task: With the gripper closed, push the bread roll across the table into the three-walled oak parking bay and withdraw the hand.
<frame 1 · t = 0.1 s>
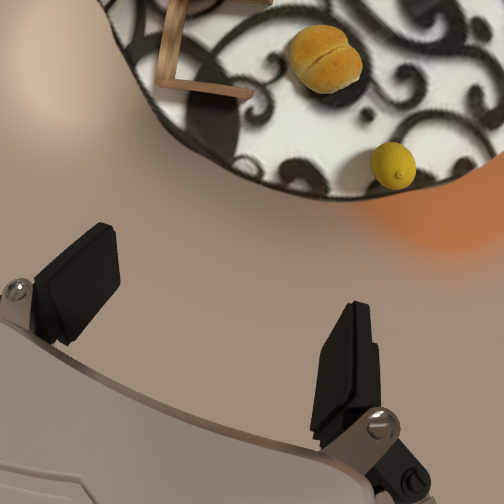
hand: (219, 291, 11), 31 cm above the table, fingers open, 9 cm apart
lemon: (387, 156, 35), on the table
bay: (218, 40, 31), on the table
bread roll: (325, 60, 30), on the table
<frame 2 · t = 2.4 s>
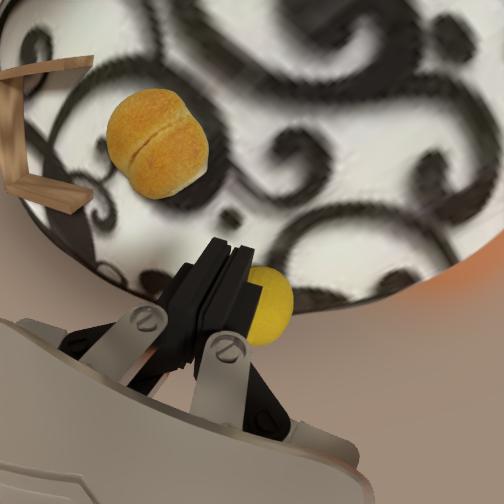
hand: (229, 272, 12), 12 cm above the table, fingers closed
lemon: (268, 272, 27), on the table
bay: (51, 126, 23), on the table
bread roll: (164, 141, 23), on the table
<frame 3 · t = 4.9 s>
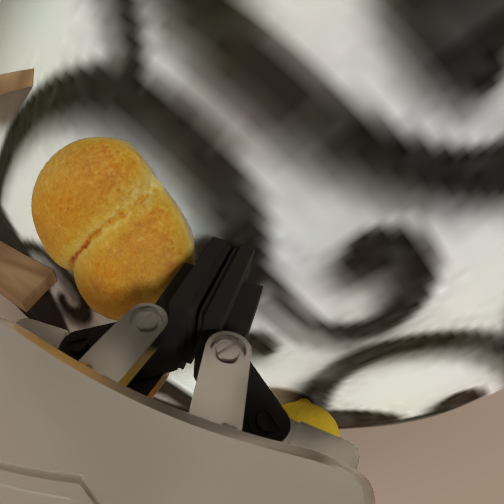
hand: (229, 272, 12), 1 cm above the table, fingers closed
lemon: (304, 396, 18), on the table
bread roll: (125, 220, 14), on the table, touching gripper
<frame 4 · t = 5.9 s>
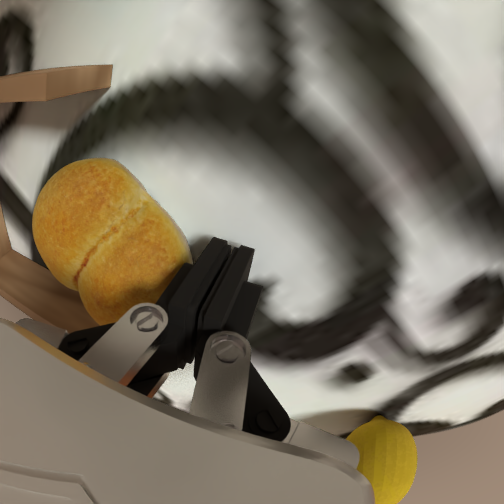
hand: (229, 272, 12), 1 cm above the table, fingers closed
lemon: (378, 413, 18), on the table
bay: (36, 191, 14), on the table
bread roll: (125, 237, 14), on the table, touching gripper
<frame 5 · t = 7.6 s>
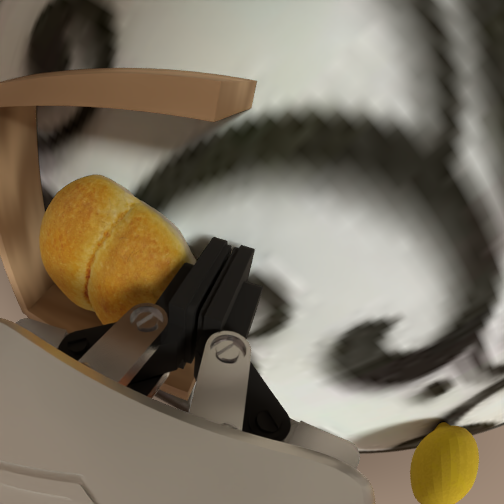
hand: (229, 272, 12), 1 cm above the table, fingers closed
lemon: (441, 420, 17), on the table
bay: (110, 219, 13), on the table
bread roll: (130, 249, 15), on the table, touching gripper
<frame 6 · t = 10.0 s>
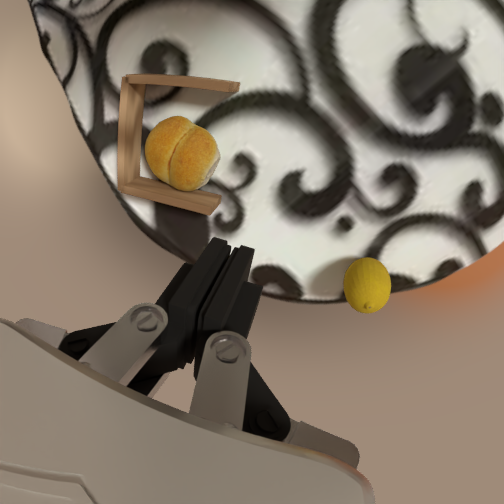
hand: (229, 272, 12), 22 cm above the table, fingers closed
lemon: (364, 263, 35), on the table
bay: (180, 136, 32), on the table
bread roll: (187, 151, 33), on the table
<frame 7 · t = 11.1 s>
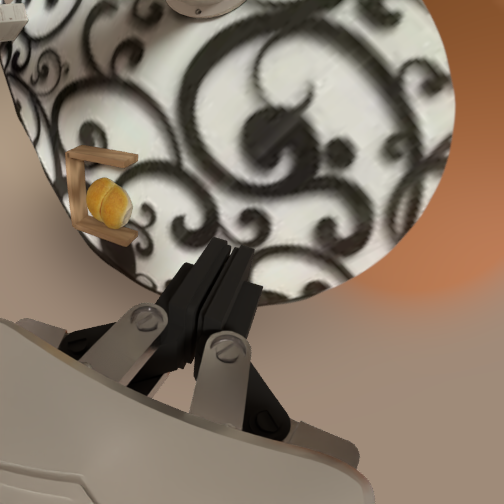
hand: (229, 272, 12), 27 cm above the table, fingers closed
bay: (108, 190, 45), on the table
bread roll: (114, 200, 46), on the table
product box: (19, 21, 29), on the table
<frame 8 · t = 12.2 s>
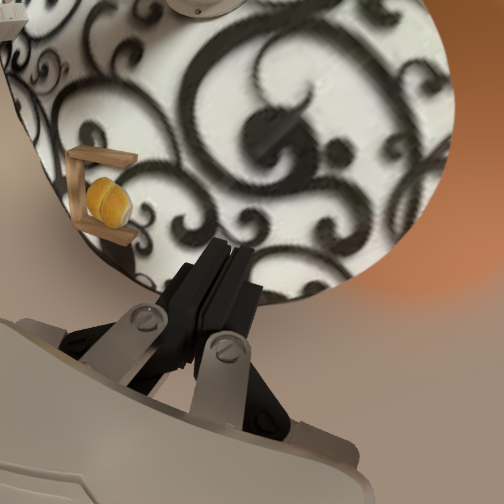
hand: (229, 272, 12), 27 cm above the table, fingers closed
bay: (107, 190, 45), on the table
bread roll: (114, 200, 46), on the table
product box: (19, 21, 29), on the table
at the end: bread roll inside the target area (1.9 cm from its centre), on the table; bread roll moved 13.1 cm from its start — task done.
